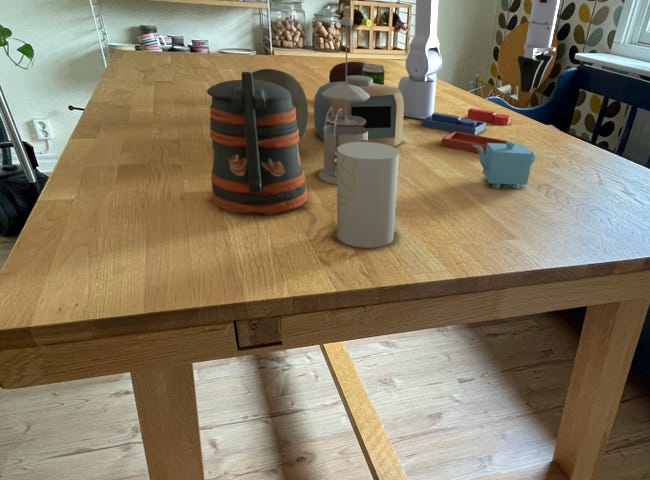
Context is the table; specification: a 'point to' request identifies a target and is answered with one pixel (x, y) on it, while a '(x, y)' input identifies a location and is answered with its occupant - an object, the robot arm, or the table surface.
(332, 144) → the french press
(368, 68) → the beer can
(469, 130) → the blue tray
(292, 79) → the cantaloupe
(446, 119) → the blue spoon
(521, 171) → the teapot
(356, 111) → the alarm clock
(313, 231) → the table surface
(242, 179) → the tankard
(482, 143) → the red tray
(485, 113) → the red spoon
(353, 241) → the cup
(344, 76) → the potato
